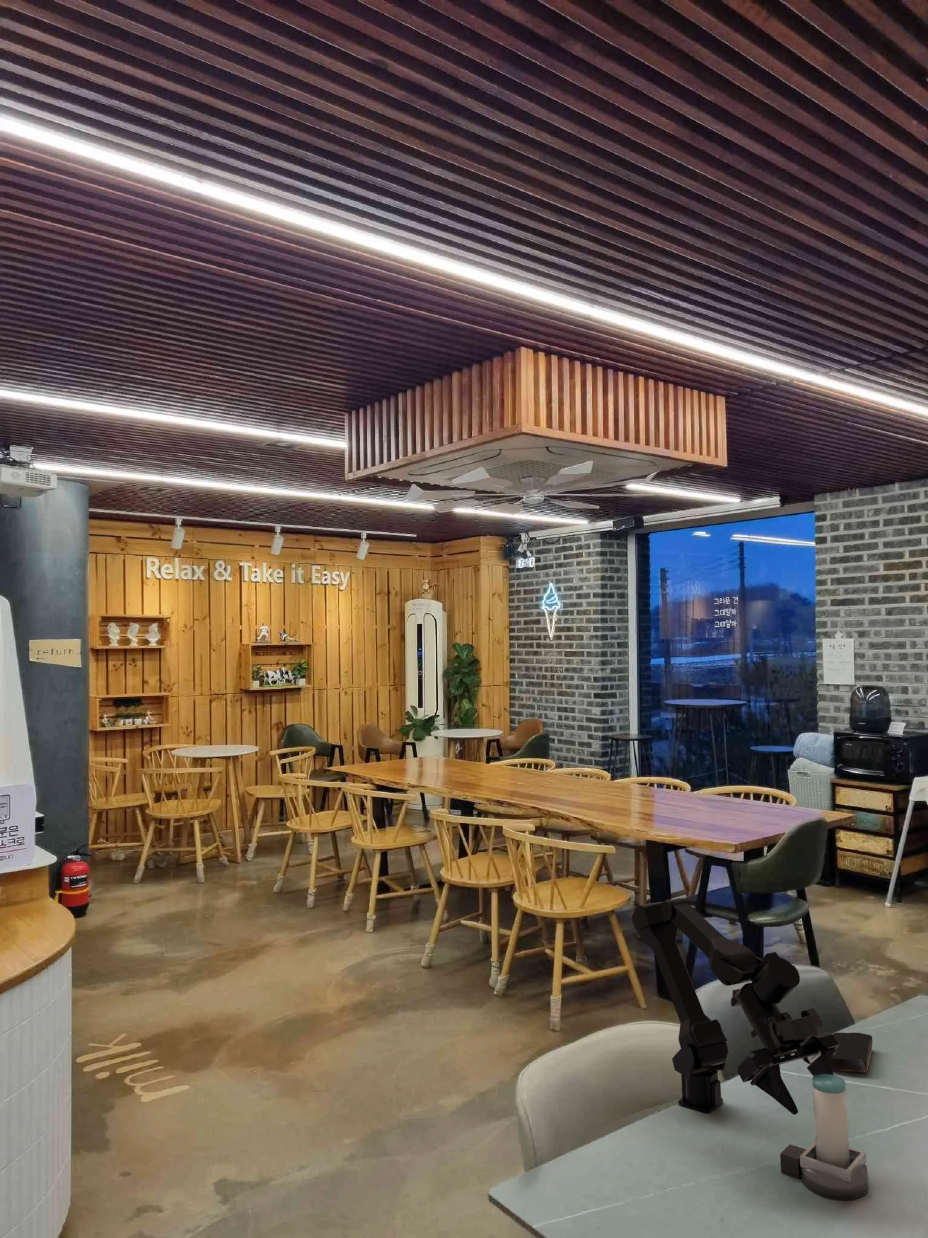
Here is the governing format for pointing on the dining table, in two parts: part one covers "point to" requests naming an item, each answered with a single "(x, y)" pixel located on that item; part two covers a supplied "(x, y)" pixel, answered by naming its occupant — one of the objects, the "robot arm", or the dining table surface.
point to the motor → (827, 1173)
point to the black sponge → (852, 1052)
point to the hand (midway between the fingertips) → (817, 1107)
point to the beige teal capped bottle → (831, 1120)
